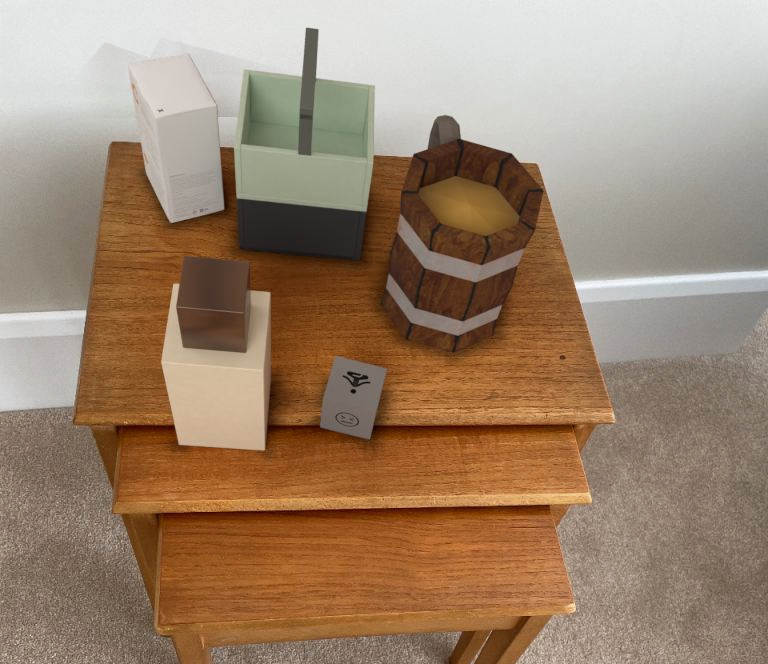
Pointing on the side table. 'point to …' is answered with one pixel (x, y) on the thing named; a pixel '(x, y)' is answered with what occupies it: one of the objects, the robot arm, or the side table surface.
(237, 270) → the block
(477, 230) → the mug
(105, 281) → the side table surface
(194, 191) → the small box
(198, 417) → the stand
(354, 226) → the black open box
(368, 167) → the basket with handle
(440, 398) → the side table surface
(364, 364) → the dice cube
